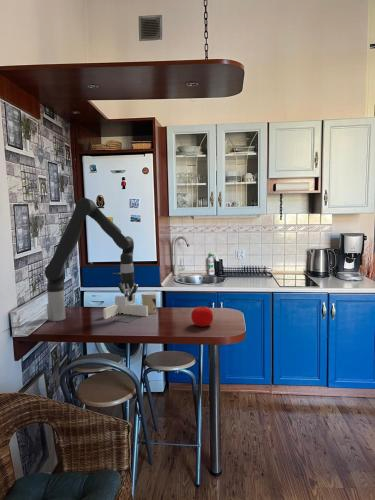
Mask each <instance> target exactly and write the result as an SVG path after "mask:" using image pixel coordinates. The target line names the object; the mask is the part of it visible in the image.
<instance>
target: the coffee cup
mask: <svg viewBox="0 0 375 500" xmlns="http://www.w3.org/2000/svg"><path fill="white" fill-rule="evenodd" d="M140 296H141V301H142V302H141V303H142V304H141V305H144V306H148V315H152V314H155V313H157V292H155V291H144V292H142V293H141V295H140Z"/></svg>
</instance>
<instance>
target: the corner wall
mask: <svg viewBox="0 0 375 500" xmlns="http://www.w3.org/2000/svg"><path fill="white" fill-rule="evenodd" d="M102 310H103V320H107V319H109V318H111V316H112V317H114V316H117V315H118V313H119V314H121V313H123V315H130V314H131V315H130V316H139V317H140V316H142V317H148V316H149V314H148V306H144V305H143V304H135V303H133V304H130V305H127V306H119V305H115V303H114V304H112V305H110V306H107V307H105V308H103V309H102ZM116 314H117V315H116Z"/></svg>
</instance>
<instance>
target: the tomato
mask: <svg viewBox="0 0 375 500" xmlns="http://www.w3.org/2000/svg"><path fill="white" fill-rule="evenodd" d="M190 315H191V320H192V323H193V324H194V325H195V326H197V327H201V328H202V327H203V328H204V327H208V326H210V325H212V322H213V321H214V314H213V311H212V309H211V308H209V307H208V306H203V305H202V306H197V307H195V308H193V310H192V311H191V314H190Z"/></svg>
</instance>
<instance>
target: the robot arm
mask: <svg viewBox="0 0 375 500" xmlns="http://www.w3.org/2000/svg"><path fill="white" fill-rule="evenodd" d="M87 216H88V217H90V218H91V219H92V220H94V221H95V222H96V223H97V224H98V226H99V227H100V228H101V229H102V231H103V232H104V233H105V234H106V235H108V237H109V238H111V239H112V240H113V242H114V243H115V244H116V246H117V247H118V248H119V249H121V250H122V253H121V254H120V267H119V268H120V280H121V281H120V283H117V287H118V289H119V291H120V293H121V294H123V296H128V295H129V301H132V300H133V294H136V293H137V290H138V288H139V284H136V283H135V269H134V259H133V258H134V248H135V243H134V239H133V238H132V236H129V235H128V236H125V235H124V234H123V232H122V230H121V229H120V227H118V226H117V225H116V224H115V223H114V222H113V221H112V220H111V219H109V218H108V217H107V216H106V215H105V213H103V212H102V211H101V209H100V208H99V207H98V206H97V205H96V203H95V202H94V201H93V200H91V199H90V198H88V197H87V198H86V197H82V198H80V199H78V201H77V202H76V204H75V206H74V209H73V211H72V214H71V218H70V219H69V221H68V223H67V226H66V227H65V230H63V233H62V235H61V238H60V239H59V242H58V244H57V246H56V249H55V252H54V254H53V256H52V257H51V259H50V261H49V263H48V264H47V265H46V267H45V269H44V276H45V277H46V279H47V286H46V292H47V293H46V294H47V304H46V311H47V320H48V321H50V322H59V321H64V320H66V317H67V316H66V304H65V303H66V300H65V288H64V287H65V271H64V265H65V263H66V261H67V259H68V258H69V257H70V256H71V254H72V252H73V251H74V249H75V248H76V246H77V244H78V242H79V240H80V237H81V232H82V226H83V223H84V221H85V219H86V217H87Z"/></svg>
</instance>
